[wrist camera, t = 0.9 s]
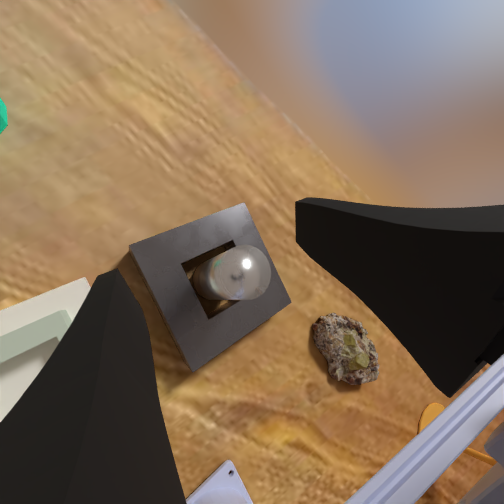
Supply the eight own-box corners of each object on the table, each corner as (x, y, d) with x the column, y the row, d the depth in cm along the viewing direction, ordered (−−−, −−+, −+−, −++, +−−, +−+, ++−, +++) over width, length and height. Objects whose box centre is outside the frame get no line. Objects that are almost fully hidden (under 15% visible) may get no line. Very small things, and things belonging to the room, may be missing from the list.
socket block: (278, 302, 27) (291, 302, 25) (186, 365, 22) (192, 372, 20) (234, 210, 27) (244, 202, 25) (128, 250, 21) (128, 245, 19)
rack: (151, 406, 20) (154, 419, 18) (-24, 532, 15) (-50, 573, 13) (85, 277, 20) (80, 274, 17) (-122, 360, 14) (-167, 371, 12)
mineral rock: (390, 338, 32) (389, 403, 27) (361, 342, 35) (355, 400, 30) (337, 289, 30) (324, 349, 24) (310, 298, 33) (295, 353, 28)
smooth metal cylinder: (237, 288, 25) (279, 283, 18) (204, 307, 24) (236, 310, 16) (220, 254, 25) (256, 236, 18) (186, 270, 23) (211, 258, 16)
